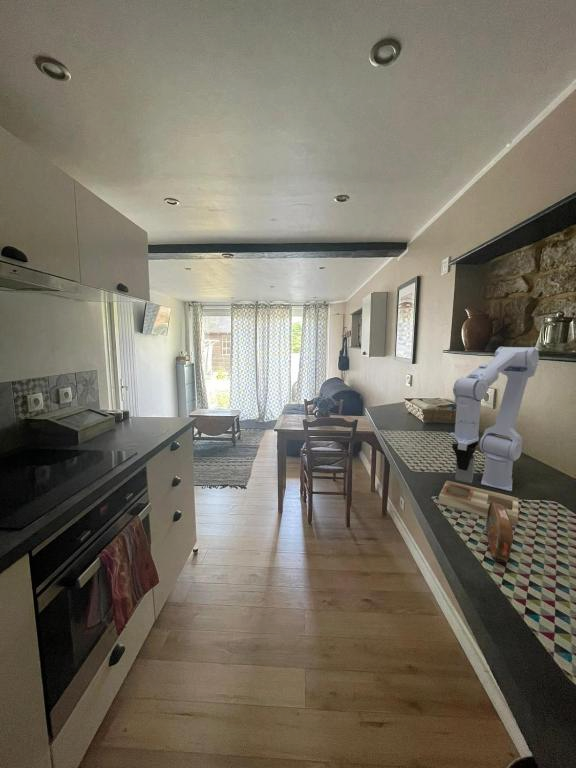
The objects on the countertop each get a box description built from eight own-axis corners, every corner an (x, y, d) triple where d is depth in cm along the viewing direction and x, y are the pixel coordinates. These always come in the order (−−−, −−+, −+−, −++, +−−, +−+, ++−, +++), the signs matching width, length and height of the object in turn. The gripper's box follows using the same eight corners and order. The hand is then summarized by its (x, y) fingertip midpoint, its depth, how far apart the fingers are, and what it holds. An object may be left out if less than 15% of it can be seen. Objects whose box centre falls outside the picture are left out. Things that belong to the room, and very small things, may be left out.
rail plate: (446, 487, 95) (446, 479, 95) (517, 506, 84) (518, 497, 84) (438, 503, 86) (439, 494, 86) (517, 526, 76) (518, 516, 75)
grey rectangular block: (457, 474, 89) (458, 451, 88) (473, 477, 87) (474, 454, 86) (455, 479, 86) (456, 456, 85) (471, 483, 84) (473, 459, 83)
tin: (485, 525, 76) (487, 494, 75) (500, 529, 75) (503, 497, 73) (493, 565, 63) (496, 529, 62) (511, 571, 61) (515, 533, 60)
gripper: (455, 413, 92) (452, 455, 94) (446, 424, 81) (443, 472, 83) (482, 416, 88) (478, 460, 90) (477, 428, 77) (473, 479, 79)
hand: (463, 466), depth 86 cm, fingers closed on grey rectangular block, 4 cm apart
